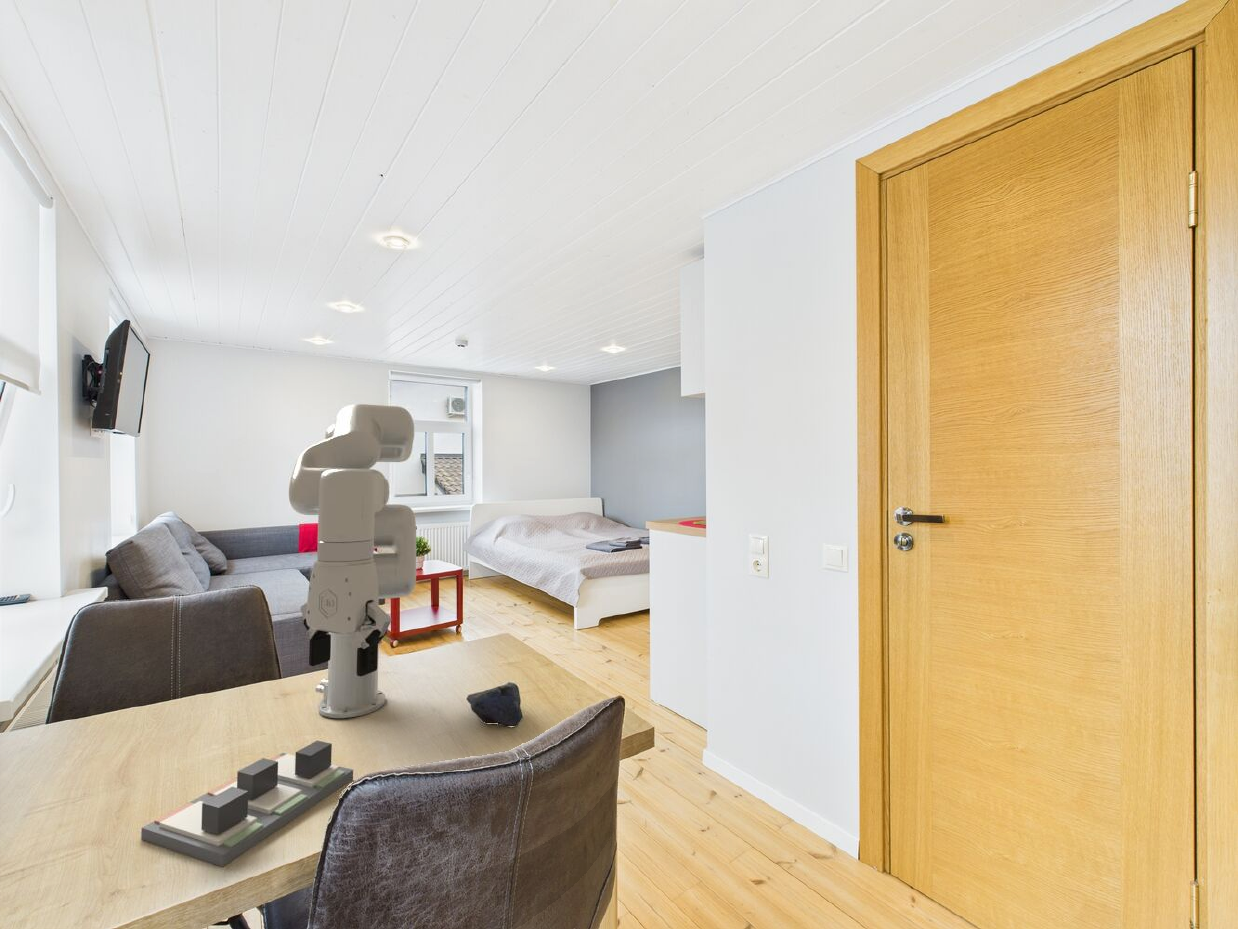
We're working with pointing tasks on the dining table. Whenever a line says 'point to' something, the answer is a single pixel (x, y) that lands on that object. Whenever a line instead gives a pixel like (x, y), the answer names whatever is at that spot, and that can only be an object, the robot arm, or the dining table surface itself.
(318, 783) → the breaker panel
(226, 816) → the block
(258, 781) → the block
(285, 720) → the dining table surface
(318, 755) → the block
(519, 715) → the rock
